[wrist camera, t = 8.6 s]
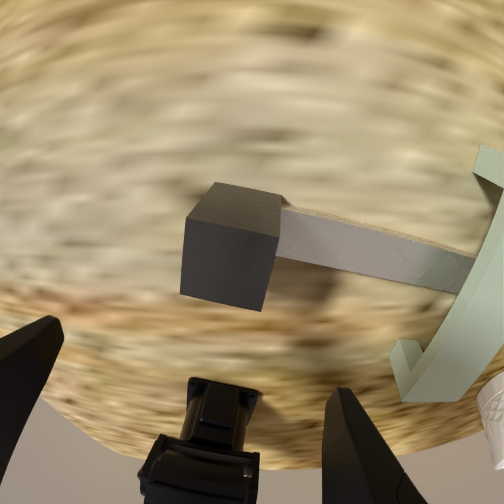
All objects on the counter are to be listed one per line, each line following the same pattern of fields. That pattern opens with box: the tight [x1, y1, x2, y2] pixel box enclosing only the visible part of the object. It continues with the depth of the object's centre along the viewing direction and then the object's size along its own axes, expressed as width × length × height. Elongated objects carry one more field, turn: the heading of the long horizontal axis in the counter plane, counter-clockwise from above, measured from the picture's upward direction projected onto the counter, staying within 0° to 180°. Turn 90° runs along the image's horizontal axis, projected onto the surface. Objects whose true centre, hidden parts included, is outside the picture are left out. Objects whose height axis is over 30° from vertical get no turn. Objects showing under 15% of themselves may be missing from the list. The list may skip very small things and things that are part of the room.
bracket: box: [388, 144, 504, 402], centre depth 17 cm, size 18×6×5 cm, turn 170°
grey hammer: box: [180, 182, 478, 312], centre depth 16 cm, size 4×21×6 cm, turn 80°
